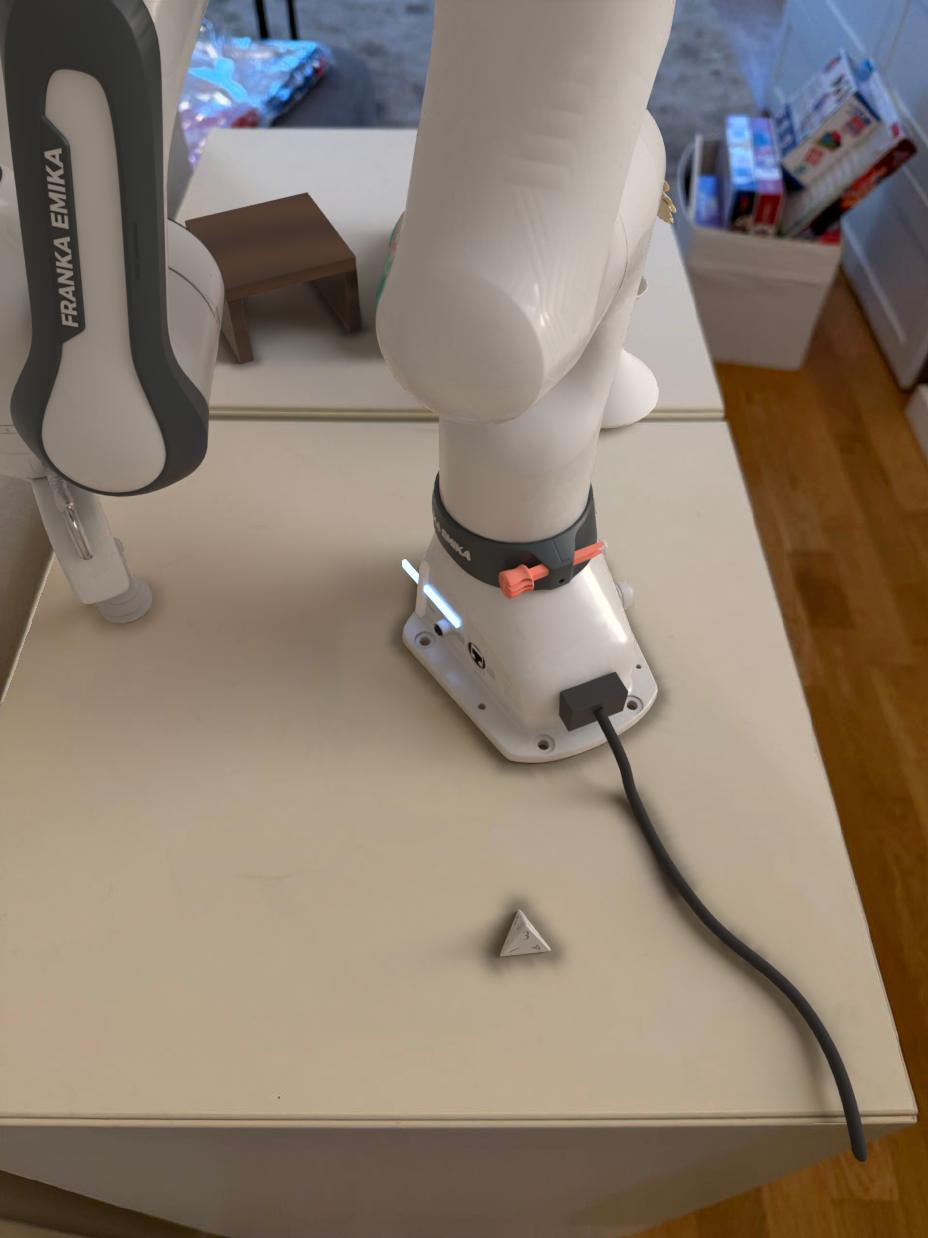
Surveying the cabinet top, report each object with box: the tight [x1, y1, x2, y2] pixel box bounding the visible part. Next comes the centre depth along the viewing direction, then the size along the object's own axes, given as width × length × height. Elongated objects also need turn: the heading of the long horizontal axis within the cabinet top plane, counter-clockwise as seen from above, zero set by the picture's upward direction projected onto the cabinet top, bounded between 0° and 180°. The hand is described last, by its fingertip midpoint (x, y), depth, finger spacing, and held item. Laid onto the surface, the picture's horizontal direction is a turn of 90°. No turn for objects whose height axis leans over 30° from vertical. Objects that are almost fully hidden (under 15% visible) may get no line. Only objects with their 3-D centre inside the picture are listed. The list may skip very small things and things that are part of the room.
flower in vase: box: [600, 179, 677, 429], centre depth 86 cm, size 13×11×25 cm
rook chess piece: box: [96, 536, 154, 624], centre depth 75 cm, size 4×4×8 cm
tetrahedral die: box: [499, 909, 552, 957], centre depth 61 cm, size 4×3×3 cm
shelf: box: [184, 191, 363, 365], centre depth 100 cm, size 14×14×9 cm
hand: (94, 549), depth 73 cm, fingers open, 8 cm apart
